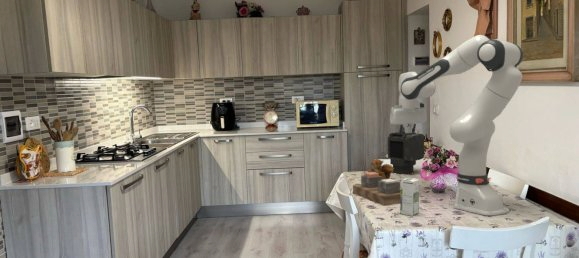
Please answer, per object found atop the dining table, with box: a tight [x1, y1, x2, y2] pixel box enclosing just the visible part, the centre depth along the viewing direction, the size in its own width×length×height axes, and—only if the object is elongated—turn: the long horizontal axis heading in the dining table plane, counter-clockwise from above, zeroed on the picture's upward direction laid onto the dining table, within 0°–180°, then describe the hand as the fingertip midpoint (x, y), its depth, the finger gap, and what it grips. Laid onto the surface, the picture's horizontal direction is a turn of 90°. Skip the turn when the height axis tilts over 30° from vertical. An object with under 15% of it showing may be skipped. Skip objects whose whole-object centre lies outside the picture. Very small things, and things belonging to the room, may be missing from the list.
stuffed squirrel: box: [367, 158, 393, 180], centre depth 242 cm, size 10×14×13 cm
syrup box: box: [399, 177, 420, 217], centre depth 181 cm, size 6×6×14 cm
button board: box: [352, 174, 401, 206], centre depth 209 cm, size 26×14×9 cm, turn 24°
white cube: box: [381, 178, 398, 183], centre depth 202 cm, size 5×5×5 cm
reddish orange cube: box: [363, 171, 379, 178], centre depth 215 cm, size 5×5×5 cm
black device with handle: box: [387, 123, 425, 175], centre depth 264 cm, size 15×18×30 cm
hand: (408, 132), depth 217 cm, fingers closed
